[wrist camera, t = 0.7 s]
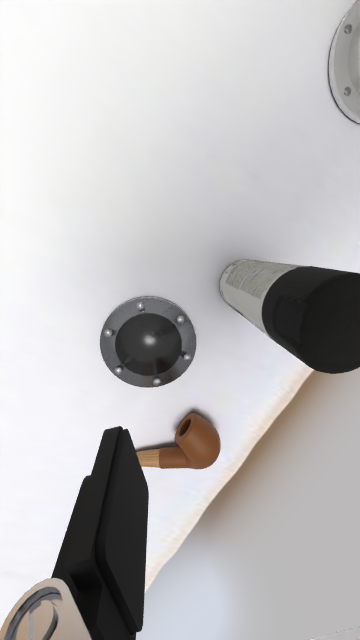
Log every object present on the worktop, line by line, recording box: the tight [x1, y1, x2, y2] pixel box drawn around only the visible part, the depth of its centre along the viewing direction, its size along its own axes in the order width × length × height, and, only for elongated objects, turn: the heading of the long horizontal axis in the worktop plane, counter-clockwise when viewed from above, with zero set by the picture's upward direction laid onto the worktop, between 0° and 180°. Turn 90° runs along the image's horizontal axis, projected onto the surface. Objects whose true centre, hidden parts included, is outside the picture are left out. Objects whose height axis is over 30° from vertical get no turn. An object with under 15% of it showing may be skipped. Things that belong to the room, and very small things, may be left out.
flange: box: [100, 297, 196, 387], centre depth 35 cm, size 13×13×1 cm
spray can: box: [220, 260, 360, 374], centre depth 25 cm, size 7×7×20 cm
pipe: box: [136, 413, 220, 469], centre depth 39 cm, size 8×19×6 cm, turn 129°
